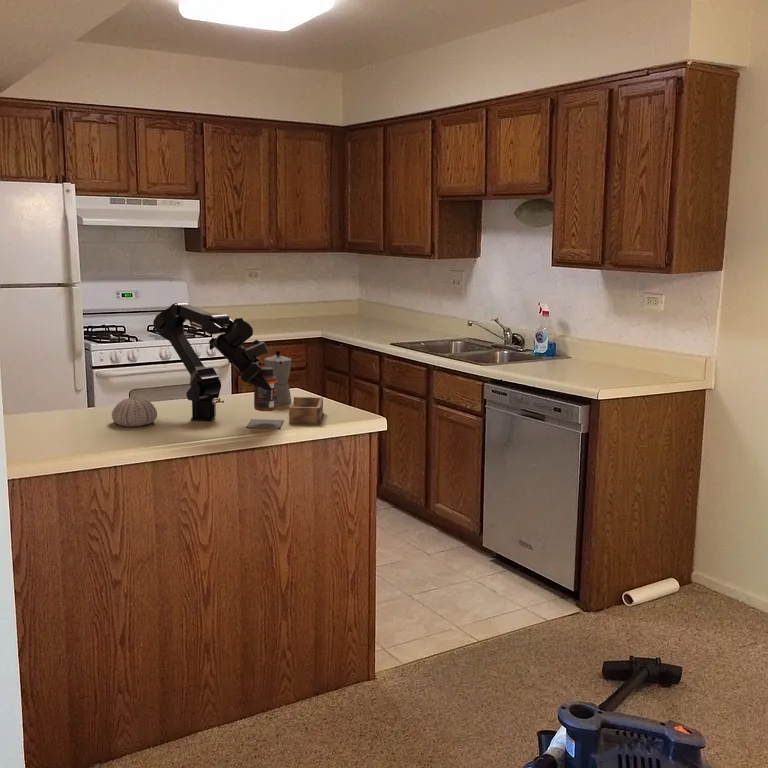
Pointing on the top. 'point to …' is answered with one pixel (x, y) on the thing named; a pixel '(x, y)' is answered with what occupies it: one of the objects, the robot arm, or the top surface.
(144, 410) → the sea urchin shell
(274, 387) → the supplement bottle
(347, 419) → the top surface
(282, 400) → the coffeepot
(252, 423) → the mat
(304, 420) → the crate
